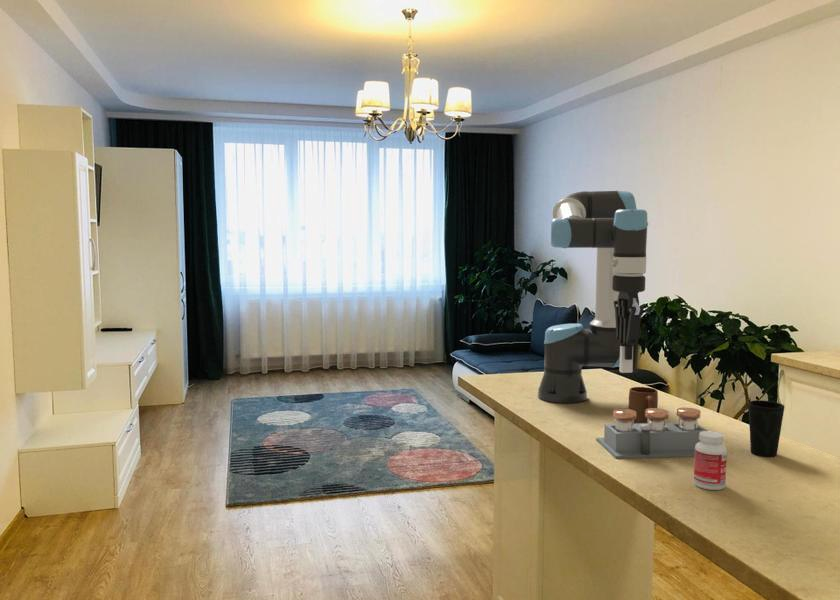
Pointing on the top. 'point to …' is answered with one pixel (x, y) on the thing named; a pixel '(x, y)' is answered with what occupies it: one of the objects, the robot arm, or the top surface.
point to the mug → (642, 402)
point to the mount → (651, 442)
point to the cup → (765, 427)
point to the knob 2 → (688, 418)
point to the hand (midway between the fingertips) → (625, 371)
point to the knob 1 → (624, 419)
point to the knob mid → (656, 418)
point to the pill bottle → (710, 461)
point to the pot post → (645, 438)
